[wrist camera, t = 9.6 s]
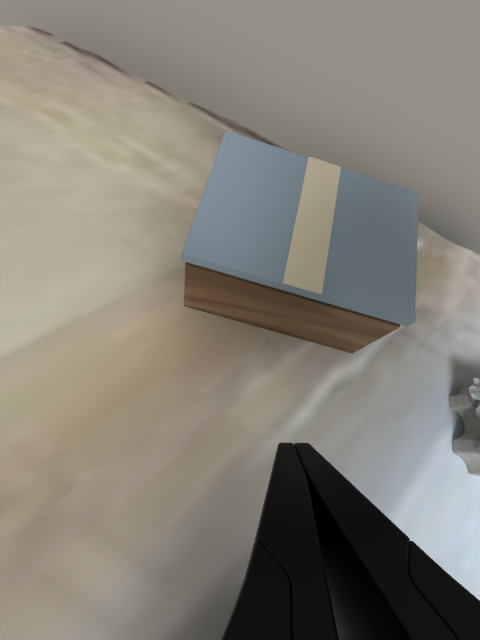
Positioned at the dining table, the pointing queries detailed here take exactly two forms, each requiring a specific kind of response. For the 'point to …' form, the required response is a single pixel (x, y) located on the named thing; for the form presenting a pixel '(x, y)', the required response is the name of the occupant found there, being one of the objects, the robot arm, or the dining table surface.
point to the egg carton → (468, 426)
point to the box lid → (308, 229)
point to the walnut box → (281, 310)
